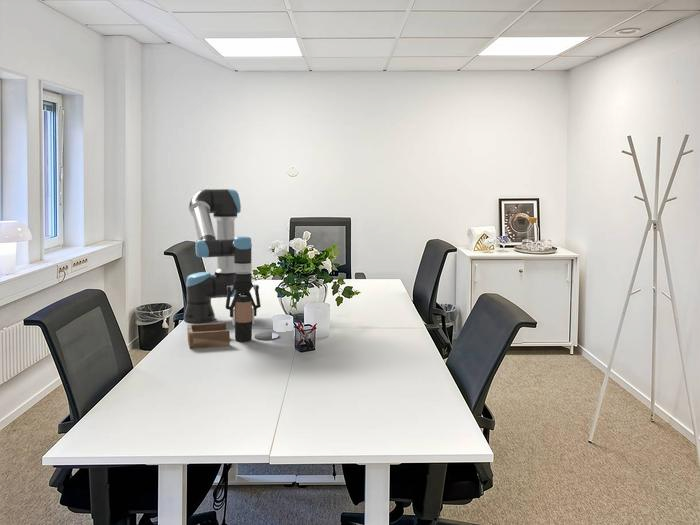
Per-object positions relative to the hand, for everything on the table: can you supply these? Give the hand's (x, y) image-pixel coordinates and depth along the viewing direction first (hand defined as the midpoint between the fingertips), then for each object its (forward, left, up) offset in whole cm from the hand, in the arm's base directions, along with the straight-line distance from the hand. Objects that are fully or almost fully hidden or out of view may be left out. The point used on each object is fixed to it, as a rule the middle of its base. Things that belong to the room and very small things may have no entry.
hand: (243, 323), depth 259 cm
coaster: (-2, +11, -7) cm, 13 cm away
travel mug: (0, 0, -7) cm, 7 cm away
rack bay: (0, -15, -7) cm, 16 cm away
